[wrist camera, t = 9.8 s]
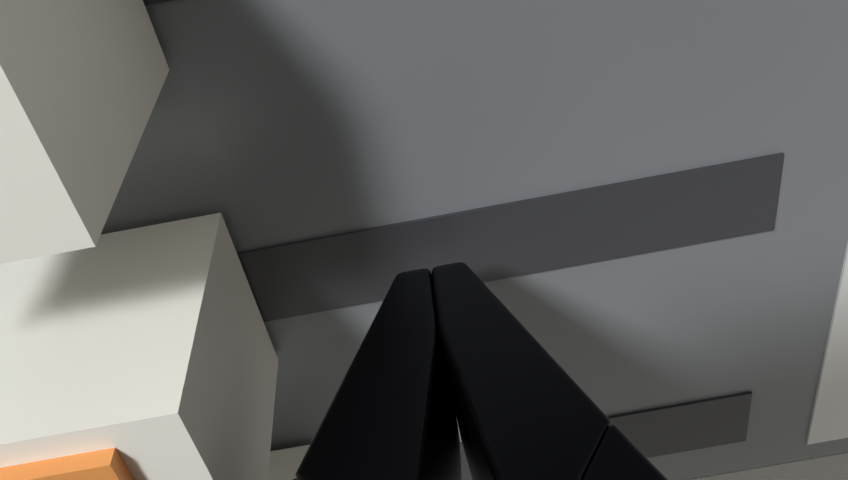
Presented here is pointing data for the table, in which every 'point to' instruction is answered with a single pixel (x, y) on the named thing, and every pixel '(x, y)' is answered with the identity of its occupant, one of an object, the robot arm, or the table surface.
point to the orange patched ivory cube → (136, 360)
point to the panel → (534, 195)
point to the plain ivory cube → (286, 462)
